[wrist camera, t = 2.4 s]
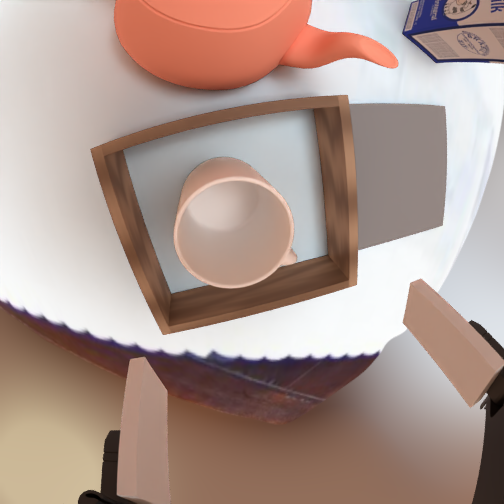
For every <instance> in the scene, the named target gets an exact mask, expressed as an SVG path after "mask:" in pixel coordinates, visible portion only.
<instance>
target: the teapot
mask: <svg viewBox="0 0 504 504" xmlns="http://www.w3.org/2000/svg"><path fill="white" fill-rule="evenodd" d="M311 6H312V0H116V3H115V9H114V22H115V28H116V33H117V35H118V38H119V40H120V43H121V44H122V46H123V47H124V49H125V50H126V52H127V53H128V54H129V55H130V56H131V57H132V58H133V59H134V61H135V62H137V63H138V64H139V65H140V66H141V67H142V68H144V69H145V70H147V71H148V72H150V73H151V74H153V75H155V76H157V77H159V78H161V79H163V80H166V81H168V82H171V83H174V84H177V85H181V86H185V87H189V88H195V89H204V90H227V89H235V88H239V87H243V86H246V85H249V84H251V83H254V82H256V81H258V80H259V79H261V78H263V77H264V76H266V75H267V74H269V73H270V72H271V71H272V70H273V69H274V68H276V67H277V66H278V65H285V66H290V67H296V68H304V69H305V68H317V67H320V66H323V65H327V64H329V63H332V62H334V61H337V60H340V59H344V58H360V59H365V60H367V61H370V62H373V63H376V64H378V65H381V66H384V67H387V68H396V67H397V66H398V60H397V59H396V57H395V56H394V55H393V53H392V52H391V51H389V50H388V49H387V48H386V47H384V46H383V45H382V44H380V43H378V42H377V41H375V40H373V39H371V38H368V37H366V36H362V35H359V34H354V33H348V32H328V31H324V30H321V29H318V28H315V27H313V26H310V25H308V24H307V22H308V19H309V16H310V13H311Z"/></svg>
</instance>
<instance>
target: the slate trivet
mask: <svg viewBox="0 0 504 504" xmlns="http://www.w3.org/2000/svg"><path fill="white" fill-rule="evenodd" d="M349 108H350V116H351V124H352V133H353V143H354V154H355V168H356V184H357V209H358V250H361V249H364V248H368V247H371V246H375V245H378V244H382V243H385V242H389V241H392V240H396V239H399V238H403V237H406V236H409V235H413V234H416V233H419V232H423V231H426V230H429V229H433V228H436V227H439V226H443V217H444V207H445V194H446V176H447V131H446V113H445V106H435V105H419V104H349Z"/></svg>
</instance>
